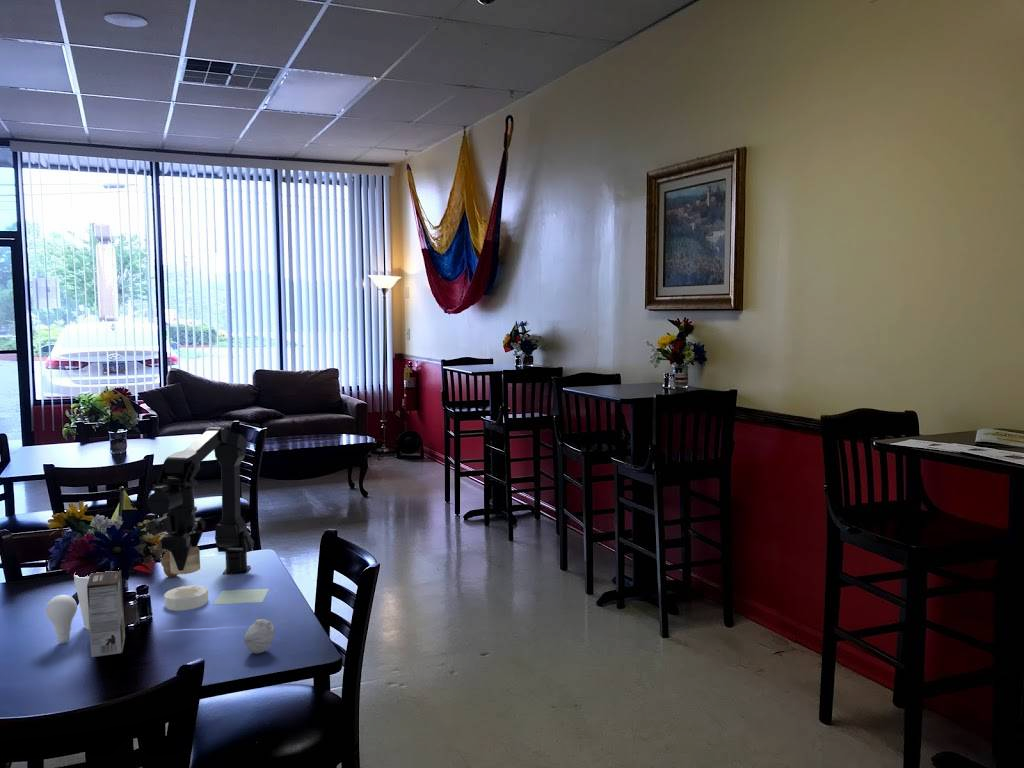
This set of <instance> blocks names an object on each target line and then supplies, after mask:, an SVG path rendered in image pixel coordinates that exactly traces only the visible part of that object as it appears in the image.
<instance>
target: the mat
mask: <svg viewBox="0 0 1024 768" xmlns="http://www.w3.org/2000/svg"><path fill="white" fill-rule="evenodd" d="M269 590H270V588H253V589H231V590H228V589H227V590H222V591H221V593H220V594H219V595H218V597H217V598H216V600H215V601H214V603H213V605H231V604H232V605H233V604H249V603H250V604H251V603H253V604H254V603H263V601H264V599H265V597H266V595H267V594H268V592H269Z"/></svg>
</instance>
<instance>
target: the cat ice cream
mask: <svg viewBox="0 0 1024 768" xmlns="http://www.w3.org/2000/svg"><path fill="white" fill-rule="evenodd" d="M164 516H167V513H166V514H164V515H162V517H164ZM164 532H167V530H166V531H164ZM172 533H174V532H172ZM160 564H161V566H162V567H163V568H162V569H163V573H164V575H166V576H167V577H168V578H174V577H177V576H178V575H179V574H173V573H171V571H170V551H167V552H166V553H165V554H164V555H163V557H162V558H161V559H160Z"/></svg>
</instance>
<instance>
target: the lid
mask: <svg viewBox="0 0 1024 768" xmlns="http://www.w3.org/2000/svg"><path fill="white" fill-rule="evenodd" d="M200 554H201V553H200V547H198V546H197V547H193V546H191V548H190V551H189V554H188V557H187V561H186V564H185V567H184V570H183V571H179V570H178V568H177V565H176V562H175V560H174V557H173V555H172V553H171V552H170V571H171V573H173V574H178V575H187V574H192V573H196V572H198V571H200V570H201V555H200Z"/></svg>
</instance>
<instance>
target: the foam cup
mask: <svg viewBox="0 0 1024 768" xmlns="http://www.w3.org/2000/svg"><path fill="white" fill-rule="evenodd" d="M73 579H74V586H75V589H76V593H77V594H76V595H77V598H78V602H79V603H78V604H79V608H80V614H81V617H82V622H83V626H84V629H85V630H88V631H89V613H88V595H87V584H88V581H89V576H88V575H87V576H85V577H79V576H78V575H75V573H74V574H73Z"/></svg>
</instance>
